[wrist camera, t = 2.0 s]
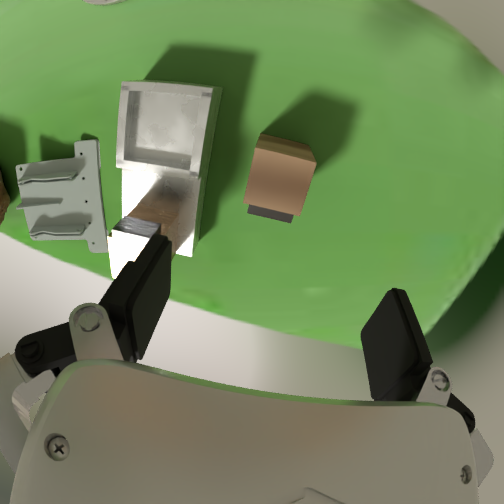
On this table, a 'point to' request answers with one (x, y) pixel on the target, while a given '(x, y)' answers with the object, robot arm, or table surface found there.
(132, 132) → the white desk organizer
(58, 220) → the metal bracket
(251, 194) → the wood grain cube
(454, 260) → the table surface
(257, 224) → the table surface
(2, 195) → the decorative rock
